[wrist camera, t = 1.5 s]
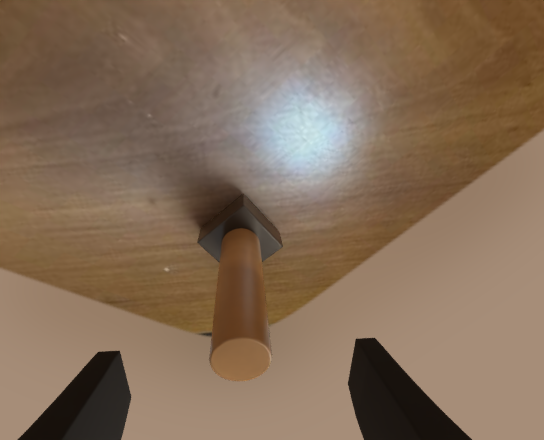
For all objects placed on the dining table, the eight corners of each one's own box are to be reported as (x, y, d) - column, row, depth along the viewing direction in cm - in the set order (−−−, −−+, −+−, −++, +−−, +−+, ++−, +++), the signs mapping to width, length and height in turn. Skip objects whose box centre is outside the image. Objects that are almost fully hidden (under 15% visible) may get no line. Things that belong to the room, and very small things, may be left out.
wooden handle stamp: (238, 264, 19) (236, 407, 11) (200, 228, 18) (167, 360, 10) (279, 232, 19) (310, 361, 11) (243, 193, 18) (246, 304, 9)
